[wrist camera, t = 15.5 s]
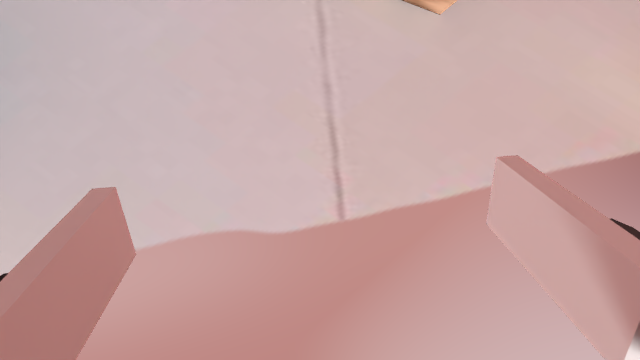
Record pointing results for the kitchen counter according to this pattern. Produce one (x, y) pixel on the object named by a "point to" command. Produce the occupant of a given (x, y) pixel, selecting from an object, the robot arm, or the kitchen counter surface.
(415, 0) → the open wooden box
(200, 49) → the kitchen counter surface
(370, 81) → the kitchen counter surface
